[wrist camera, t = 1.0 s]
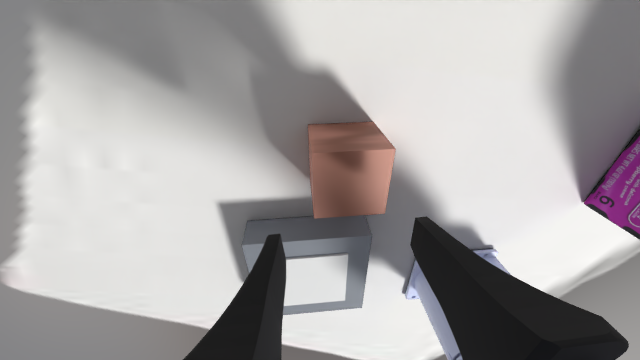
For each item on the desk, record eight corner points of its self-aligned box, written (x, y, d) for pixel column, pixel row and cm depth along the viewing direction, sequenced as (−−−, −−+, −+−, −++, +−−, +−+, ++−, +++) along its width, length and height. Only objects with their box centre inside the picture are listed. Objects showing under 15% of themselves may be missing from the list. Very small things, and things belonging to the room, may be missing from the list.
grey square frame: (363, 212, 23) (372, 237, 21) (356, 283, 29) (362, 309, 27) (247, 220, 23) (241, 247, 20) (263, 291, 29) (260, 319, 26)
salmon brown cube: (372, 121, 19) (395, 148, 14) (367, 176, 21) (384, 213, 17) (307, 124, 18) (311, 153, 14) (310, 180, 21) (314, 218, 17)
